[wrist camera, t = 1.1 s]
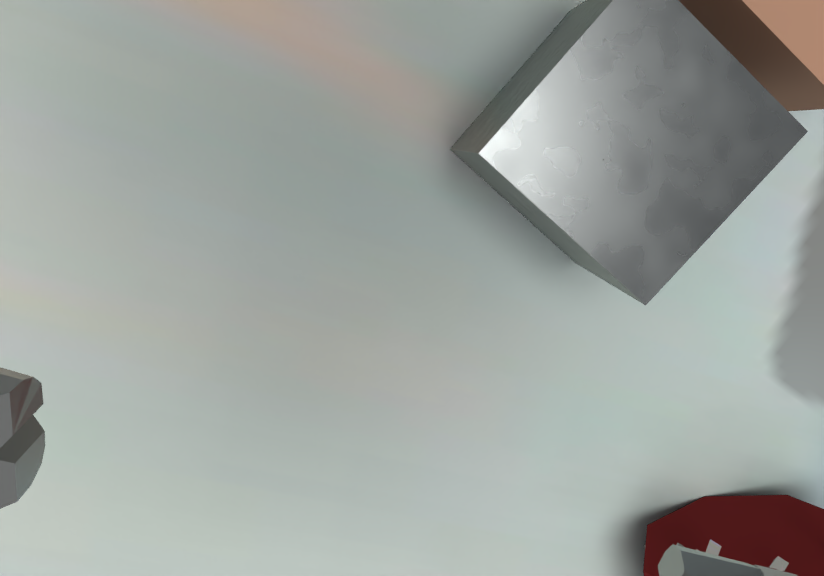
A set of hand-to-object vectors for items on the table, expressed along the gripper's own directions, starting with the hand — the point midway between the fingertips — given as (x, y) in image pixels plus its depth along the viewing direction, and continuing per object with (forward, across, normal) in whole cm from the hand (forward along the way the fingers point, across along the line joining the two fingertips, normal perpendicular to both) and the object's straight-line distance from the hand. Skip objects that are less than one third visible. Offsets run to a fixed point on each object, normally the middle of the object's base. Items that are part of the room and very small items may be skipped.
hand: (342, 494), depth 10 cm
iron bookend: (+46, -6, +8) cm, 47 cm away
